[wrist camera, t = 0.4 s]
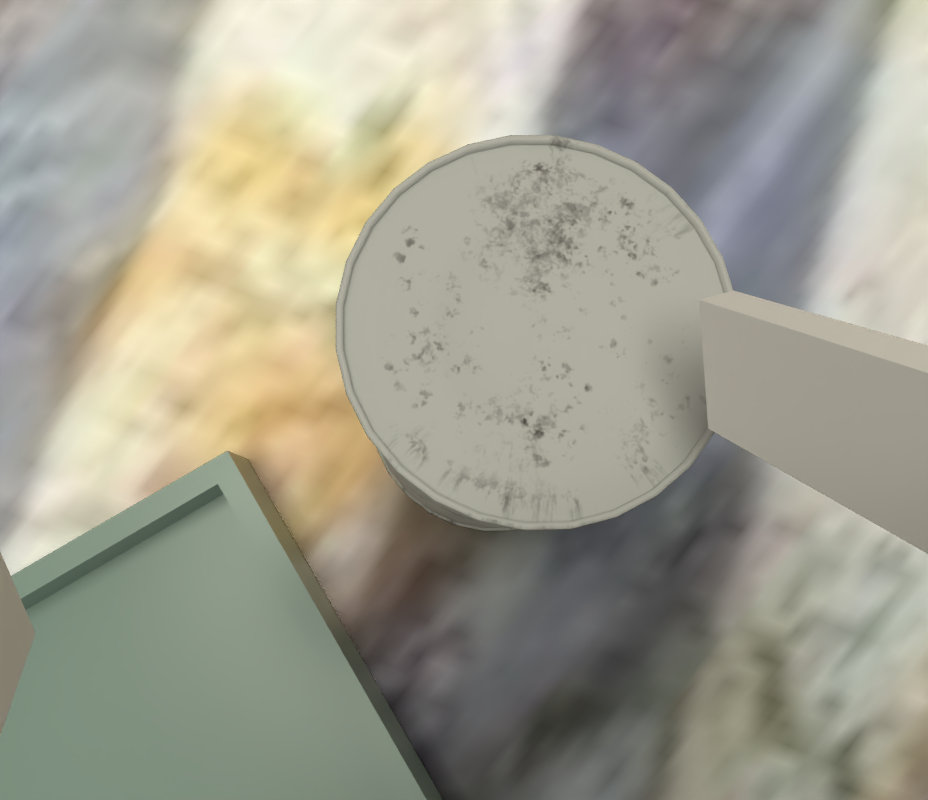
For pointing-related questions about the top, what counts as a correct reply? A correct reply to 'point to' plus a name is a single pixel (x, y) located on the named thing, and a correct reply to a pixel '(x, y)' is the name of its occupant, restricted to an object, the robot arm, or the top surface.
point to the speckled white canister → (530, 333)
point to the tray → (196, 664)
